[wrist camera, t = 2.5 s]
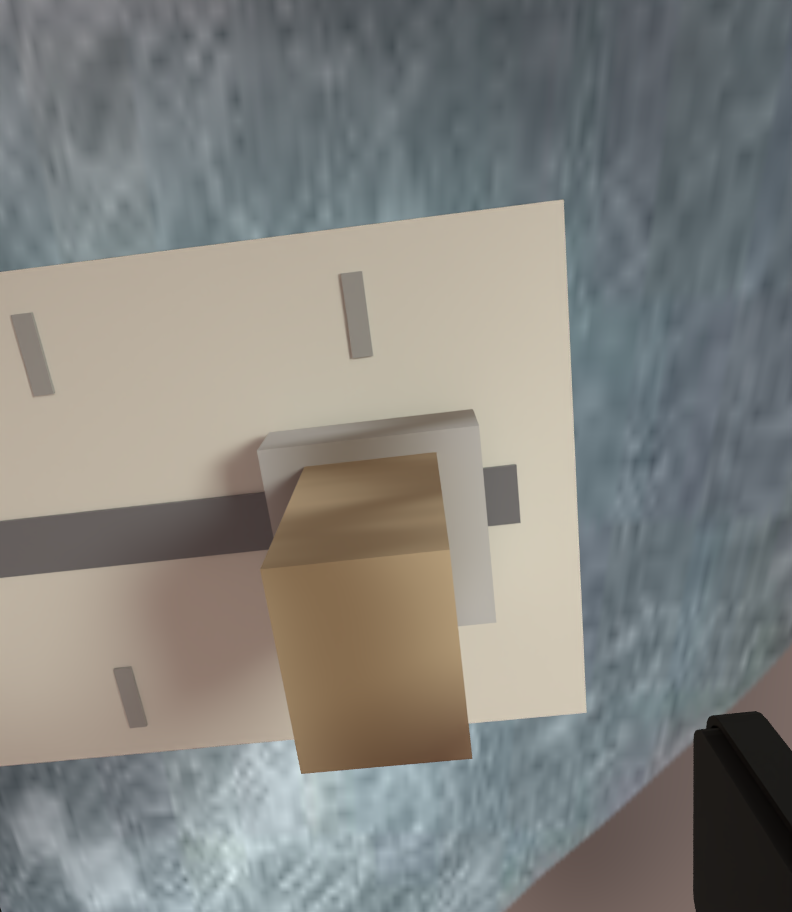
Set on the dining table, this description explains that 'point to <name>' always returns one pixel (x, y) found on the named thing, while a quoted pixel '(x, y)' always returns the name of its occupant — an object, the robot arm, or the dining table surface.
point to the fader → (376, 585)
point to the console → (238, 471)
